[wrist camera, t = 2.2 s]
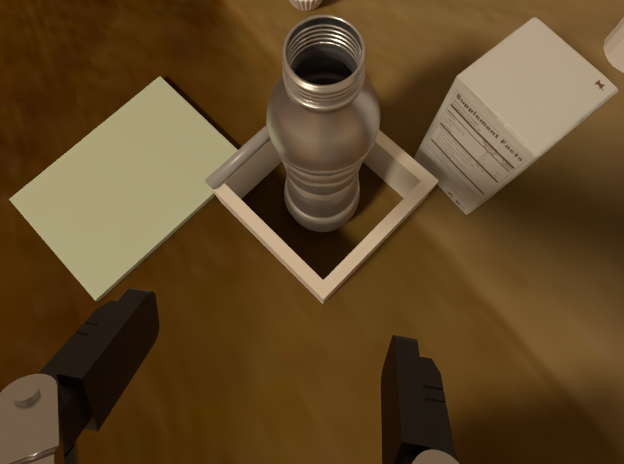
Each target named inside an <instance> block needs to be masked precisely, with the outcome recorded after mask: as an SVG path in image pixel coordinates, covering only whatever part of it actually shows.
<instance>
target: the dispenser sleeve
mask: <svg viewBox="0 0 624 464" xmlns="http://www.w3.org/2000/svg"><path fill="white" fill-rule="evenodd" d="M281 162H282V160H281V158H280V157H279V155H278V153H277V151H276V150H275V148H274V145H273V143H272V141H271V138H270V136H269V133H268V128H267V125H266V126H265V127H263V128H262V129H261V130H260V131H259V132H258V133H257V134H256V135H255V136H253V137H252V138H251V139H250V140H249V141H248V142H247V143H246V144H244V145H243V146H242V147H241V148H240V149H239V150H238V151H237V152H236V153H234V154H233V155H232V156H231V157H230V158H229V159H228V160H227V161H225V162H224V163H223V164H222V165H221V166H220V167H219V168H218V169H217V170H215V171H214V172H213V173H212V174H211V175H210V176H209V177H208V178H206V179H205V182H206V183H207V184H208V186H209V187H210V188H211V190H212V191H213V192H214V193H215V195H216V196H217V197H218V199H219V200H220V201H221V203H222V204H223V205H224V206H225V207H226V208H227V209H228V210H229V211H230V212H231V213H232V214H233V215H234V216H235V217H236V218H237V219H238V220H239V221H240V222H241V223H242V224H243V225H244V226H245V227H246V228H247V229H248V230H249V231H250V232H251V233H252V234H253V235H254V236H255V237H256V238H257V239H258V240H259V241H260V242H261V243H262V244H263V245H264V246H265V247H266V248H267V249H268V250H269V251H270V252H271V253H272V254H273V255H274V256H275V257H276V258H277V259H278V260H279V261H280V262H281V263H282V264H283V265H284V266H285V267H286V268H287V269H288V270H289V271H290V272H291V273H292V274H293V275H294V276H295V277H296V278H297V279H298V280H299V281H300V282H301V283H302V284H303V285H304V286H305V287H306V288H307V289H308V290H309V291H310V292H311V293H312V294H313V295H314V296H315V297H316V298H317V299H318V300H319V301H320V302H321V303H322V304H324V303H325V302H326V301H327V300H328V298H329V297H330V296H331V295H332V294H333V293H334V292H335V291H336V290H337V289H338V288H339V287H340V286H341V285H342V284H343V283H344V282H345V281H346V280H347V279H348V278H349V277H350V276H351V275H352V274H353V273H354V272H355V271H356V270H357V269H358V268H359V267H360V266H361V265H362V264H363V262H364V261H365V260H366V259H367V258H368V257H369V256H370V255H371V254H372V253H373V252H374V251H375V250H376V249H377V248H378V247H379V246H380V245H381V244H382V243H383V242H384V241H385V240H386V239H387V238H388V237H389V236H390V235H391V234H392V233H393V232H394V231H395V230H396V229H397V228H398V226H399V225H400V224H401V223H402V222H403V221H404V220H405V219H406V218H407V217H408V216H409V215H410V214H411V213H412V212H413V211H414V210H415V209H416V208H417V207H418V206H419V205H420V204H421V203H422V202H423V201H424V199H425V198H426V197H427V196H428V194H429V193H430V192H431V191H432V189H433V188H434V187H435V185H436V184H437V183H438V182H439V180H438V179H436V178H435V177H434V176H433V175H432V174H431V173H429V172H428V171H427V170H426V169H425V168H424V167H422V166H421V165H420V164H419V163H418V162H416V161H415V160H414V159H413V158H412V157H411V156H409V155H408V154H407V153H406V152H405V151H404V150H402V149H401V148H400V147H399V146H398V145H397V144H395V143H394V142H393V141H392V140H391V139H389V138H388V137H387V136H386V135H385V134H384V133H382V132H381V131H380V130H379V131H378V134H377V137H376V139H375V142H374V144H373V146H372V148H371V150H370V151H369V153H368V154H367V156H366V158H365V159H364V161H363V163H364V164H366V165H367V166H368V167H369V168H370V169H371V170H372V171H374V172H375V173H376V174H377V175H378V176H379V177H380V178H381V179H383V180H384V181H385V182H386V183H387V184H388V185H389V186H391V187H392V188H393V189H394V190H395V191H396V192H397V193H398V194H400V195H401V196H402V197H403V198H404V199H403V200H402V201H401V202H400V203H399V204H398V205H397V206H396V207H395V208H394V209H393V210H392V211H391V212H390V213H389V214H388V215H387V216H386V217H385V218H384V219H383V220H382V221H381V222H380V223H379V224H378V225H377V226H376V227H375V228H374V229H373V230H372V231H371V232H370V233H369V234H368V235H367V236H366V237H365V238H364V239H363V241H362V242H361V243H360V244H359V245H358V246H357V247H356V248H355V249H354V250H353V251H352V252H351V253H350V254H349V255H348V256H347V257H346V258H345V259H344V260H343V261H342V262H341V263H340V264H339V265H338V266H337V267H336V268H335V269H334V270H333V271H332V272H331V273H330V274H329V275H328V276H327V277H326V278H325V279H324V280H322V279H321V278H320V277H319V276H318V275H317V274H316V273H315V272H314V271H313V270H312V269H311V268H310V267H309V266H308V265H307V264H306V263H305V262H304V261H303V260H302V259H301V258H300V257H299V256H298V255H297V254H296V253H295V252H294V251H293V250H292V249H291V248H290V247H289V246H288V245H287V244H286V243H285V242H284V241H283V240H282V239H281V238H280V237H279V236H278V235H277V234H276V233H275V232H274V231H273V230H272V229H271V228H270V227H268V226H267V225H266V224H265V223H264V222H263V221H262V220H261V219H260V218H259V217H258V216H257V215H256V214H255V213H254V212H253V211H252V210H251V209H250V208H249V207H248V206H247V205H246V204H245V203H244V202H243V201H242V200H241V199H242V198H243V197H244V196H245V195H246V194H248V193H249V192H250V191H251V190H252V189H253V188H254V187H255V186H256V185H257V184H258V183H259V182H260V181H262V180H263V179H264V178H265V177H266V176H267V175H268V174H269V173H270V172H271V171H272V170H273V169H275V168H276V167H277V166H278V165H279V164H280V163H281Z"/></svg>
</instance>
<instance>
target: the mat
mask: <svg viewBox="0 0 624 464" xmlns="http://www.w3.org/2000/svg"><path fill="white" fill-rule="evenodd" d="M237 151H238V150H237V149H236V148H235V147H234V146H233V145H232V144H231V143H230V142H229V141H228V140H227V139H226V138H225V137H223V136H222V135H221V134H220V133H219V132H218V131H217V130H216V129H215V128H214V127H213V126H212V125H211V124H210V123H209V122H208V121H207V120H206V119H205V118H203V117H202V116H201V115H200V114H199V113H198V112H197V111H196V110H195V109H194V108H193V107H192V106H191V105H190V104H189V103H188V102H187V101H186V100H185V99H184V98H182V97H181V96H180V95H179V94H178V93H177V92H176V91H175V90H174V89H173V88H172V87H171V86H170V85H169V84H168V83H167V82H166V81H165V80H164V79H162V78H161V77H160V76H159V77H158V78H157V79H156V80H154V81H153V82H152V83H151V84H149V85H148V86H147V87H146V88H145V89H143V90H142V91H141V92H140V93H138V94H137V95H136V96H135V97H134V98H132V99H131V100H130V101H129V102H127V103H126V104H125V105H124V106H123V107H121V108H120V109H119V110H118V111H116V112H115V113H114V114H113V115H112V116H110V117H109V118H108V119H107V120H105V121H104V122H103V123H102V124H101V125H99V126H98V127H97V128H96V129H94V130H93V131H92V132H91V133H90V134H88V135H87V136H86V137H85V138H83V139H82V140H81V141H80V142H79V143H77V144H76V145H75V146H74V147H72V148H71V149H70V150H69V151H68V152H66V153H65V154H64V155H63V156H61V157H60V158H59V159H58V160H57V161H55V162H54V163H53V164H52V165H51V166H49V167H48V168H47V169H46V170H44V171H43V172H42V173H41V174H40V175H38V176H37V177H36V178H35V179H33V180H32V181H31V182H30V183H29V184H27V185H26V186H25V187H24V188H22V189H21V190H20V191H19V192H18V193H16V194H15V195H14V196H13V197H11V198H10V199H9V200H10V201H11V202H12V203H13V205H14V206H15V207H16V208H17V209H18V210H19V212H20V213H21V214H22V215H23V216H24V217H25V219H26V220H27V221H28V222H29V223H30V225H31V226H32V227H33V228H34V229H35V230H36V232H37V233H38V234H39V235H40V236H41V237H42V239H43V240H44V241H45V242H46V243H47V244H48V246H49V247H50V248H51V249H52V250H53V252H54V253H55V254H56V255H57V256H58V257H59V259H60V260H61V261H62V262H63V263H64V264H65V266H66V267H67V268H68V269H69V270H70V272H71V273H72V274H73V275H74V276H75V277H76V279H77V280H78V281H79V282H80V283H81V284H82V286H83V287H84V288H85V289H86V290H87V292H88V293H89V294H90V295H91V296H92V297H93V299H94V300H95V301H100V300H101V299H102V298H103V297H104V296H105V295H106V294H107V293H108V292H110V291H111V290H112V289H113V288H114V287H115V286H116V285H117V284H118V283H119V282H121V281H122V280H123V279H124V278H125V277H126V276H127V275H128V274H129V273H130V272H132V271H133V270H134V269H135V268H136V267H137V266H138V265H139V264H140V263H141V262H143V261H144V260H145V259H146V258H147V257H148V256H149V255H150V254H151V253H152V252H154V251H155V250H156V249H157V248H158V247H159V246H160V245H161V244H162V243H163V242H165V241H166V240H167V239H168V238H169V237H170V236H171V235H172V234H173V233H174V232H176V231H177V230H178V229H179V228H180V227H181V226H182V225H183V224H184V223H185V222H187V221H188V220H189V219H190V218H191V217H192V216H193V215H194V214H195V213H196V212H198V211H199V210H200V209H201V208H202V207H203V206H204V205H205V204H206V203H207V202H209V201H210V200H211V199H212V198H213V197H214V196H215V193H214V192H213V191H212V190H211V188H210V187H209V186H208V184H207V183H206V182H205V179H206V178H208V177H209V176H210V175H211V174H212V173H213V172H214V171H215V170H217V169H218V168H219V167H220V166H221V165H222V164H223V163H224V162H225V161H227V160H228V159H229V158H230V157H231V156H232V155H233V154H234V153H236V152H237Z"/></svg>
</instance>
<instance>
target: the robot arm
mask: <svg viewBox="0 0 624 464" xmlns="http://www.w3.org/2000/svg"><path fill="white" fill-rule="evenodd" d="M158 332H159V318H158V311H157V303H156V296H155V293H154V292H151V291H146V290H140V289H134V288H130V289H128V290H127V291H126V292H125V293H124V294H123V296H122V297H121V298H120V299H119V300H118V301H109V302H108V303H106V304H105V305H103V306H101V307H100V308H98V309H96V310H95V311H94V312H93V313H92V315H91V316H90V317H89V318H88V319H87V320H86V321H85V324H83V325H82V326H81V327H80V328H79V329H78V330H77V331H76V334H74V335H73V336H72V337H71V338H70V339H69V340H68V341H67V342H66V343H65V345H64V346H63V347H62V348H61V349H60V350H59V351H58V352H57V353H56V355H55V356H54V357H53V358H52V359H51V360H50V361H49V362H48V363H47V365H46V366H45V367H44V368H43V369H42V370H41V371H40V372H39V373H38V374H33V375H28V376H25V377H22V378H20V379H18V380H16V381H14V382H12V383H11V384H9V385H8V386H7V387H6V388H4V389H3V390H2V391H0V464H79V455H78V443H77V438H78V437H79V435H80V434H81V432H82V431H83V429H89V430H94V431H98V430H99V429H100V427H101V426H102V424H103V423H104V421H105V419H106V418H107V416H108V415H109V413H110V412H111V410H112V409H113V407H114V405H115V404H116V402H117V401H118V399H119V398H120V396H121V394H122V393H123V391H124V390H125V388H126V387H127V385H128V384H129V382H130V380H131V379H132V377H133V376H134V374H135V373H136V371H137V370H138V368H139V366H140V365H141V363H142V362H143V360H144V359H145V357H146V356H147V354H148V352H149V351H150V349H151V348H152V346H153V345H154V343H155V341H156V339H157V336H158ZM445 402H446V401H445V395H444V392H443V384H442V379H441V373H440V372H439V370H438V368H437V367H436V365H435V364H434V362H433V360H432V359H430V358H424V357H420V356H419V349H418V342H417V340H416V339H413V338H407V337H401V336H396V335H393V336H392V339H391V342H390V346H389V349H388V352H387V356H386V359H385V362H384V366H383V370H382V377H381V413H382V464H459V462H458V460H457V458H456V455H455V451H454V446H453V440H452V434H451V429H450V423H449V418H448V412H447V407H446V404H445Z"/></svg>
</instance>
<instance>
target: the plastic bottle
mask: <svg viewBox="0 0 624 464" xmlns="http://www.w3.org/2000/svg"><path fill="white" fill-rule="evenodd" d="M365 59H366V48H365V42H364V39H363V36H362V35H361V33H360V31H359V30H358V29H357V28H356V26H355V25H354V24H352V23H351V22H350V21H348V20H346V19H344V18H342V17H339V16H336V15H331V14H318V15H313V16H310V17H307V18H305V19H303V20H301V21H300V22H298V23H297V24H296V25H295V26H294V27H292V28H291V30H290V31H289V33H288V34H287V36H286V38H285V41H284V44H283V51H282V60H283V75H282V76H281V77H280V78H279V80H278V81H277V83H276V84H275V86H274V88H273V90H272V93H271V95H270V99H269V103H268V107H267V113H266V123H267V128H268V133H269V136H270V138H271V141H272V143H273V145H274V148H275V150H276V151H277V153H278V155H279V157H280V158H281V160H282V162H283V163H284V166H285V169H286V172H287V177H286V182H285V189H284V198H285V203H286V206H287V209H288V211H289V213H290V214H291V215H292V217H293V218H294V219H295V220H296V221H297V222H298V223H299V224H300V225H301V226H303V227H304V228H306V229H308V230H311V231H314V232H330V231H333V230H336V229H338V228H340V227H341V226H343V225H344V224H345V223H346V222H347V221H348V220H349V219H350V218H351V217H352V216H353V215H354V213H355V211H356V209H357V207H358V204H359V199H360V185H359V179H358V172H359V169H360V167H361V164H362V163H363V161H364V159H365V158H366V156H367V154H368V153H369V151H370V150H371V148H372V146H373V144H374V142H375V139H376V137H377V134H378V131H379V128H380V119H381V116H380V107H379V102H378V98H377V95H376V92H375V89H374V87H373V85H372V84H371V82H370V80H369V79H368V78H367V77H366V75H365Z"/></svg>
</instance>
